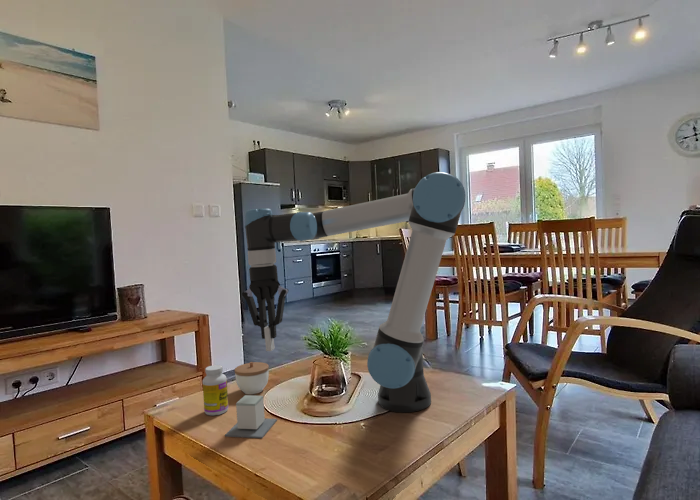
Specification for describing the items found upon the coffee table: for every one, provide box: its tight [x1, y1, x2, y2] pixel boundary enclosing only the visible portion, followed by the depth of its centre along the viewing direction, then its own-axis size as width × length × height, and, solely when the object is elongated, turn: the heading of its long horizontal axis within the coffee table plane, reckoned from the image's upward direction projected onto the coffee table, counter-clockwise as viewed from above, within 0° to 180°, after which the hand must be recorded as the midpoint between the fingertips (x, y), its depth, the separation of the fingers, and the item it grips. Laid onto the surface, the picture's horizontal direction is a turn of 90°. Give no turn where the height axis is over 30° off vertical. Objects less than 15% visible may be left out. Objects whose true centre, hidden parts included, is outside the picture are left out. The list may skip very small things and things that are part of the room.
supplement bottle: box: [202, 364, 229, 416], centre depth 124 cm, size 7×7×13 cm
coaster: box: [224, 418, 278, 439], centre depth 112 cm, size 10×10×1 cm
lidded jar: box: [234, 361, 270, 395], centre depth 139 cm, size 11×11×9 cm
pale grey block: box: [235, 394, 266, 429], centre depth 112 cm, size 5×5×7 cm
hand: (270, 349), depth 119 cm, fingers closed
